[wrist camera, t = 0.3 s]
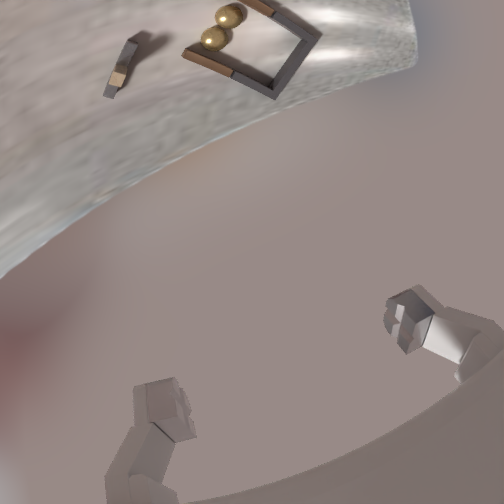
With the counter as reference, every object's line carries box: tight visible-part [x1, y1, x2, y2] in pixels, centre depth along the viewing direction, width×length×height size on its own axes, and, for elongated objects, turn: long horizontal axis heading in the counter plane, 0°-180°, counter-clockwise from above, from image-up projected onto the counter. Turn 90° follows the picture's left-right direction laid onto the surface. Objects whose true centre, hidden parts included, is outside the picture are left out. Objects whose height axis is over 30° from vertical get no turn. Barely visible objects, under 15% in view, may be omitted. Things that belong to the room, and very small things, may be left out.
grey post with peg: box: [103, 40, 138, 99], centre depth 38 cm, size 10×2×9 cm, turn 147°
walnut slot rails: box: [181, 0, 274, 77], centre depth 41 cm, size 15×9×2 cm, turn 147°
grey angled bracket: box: [230, 11, 318, 100], centre depth 47 cm, size 15×10×2 cm, turn 147°
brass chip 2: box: [215, 6, 243, 29], centre depth 39 cm, size 4×4×2 cm
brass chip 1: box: [201, 27, 228, 51], centre depth 42 cm, size 4×4×2 cm
